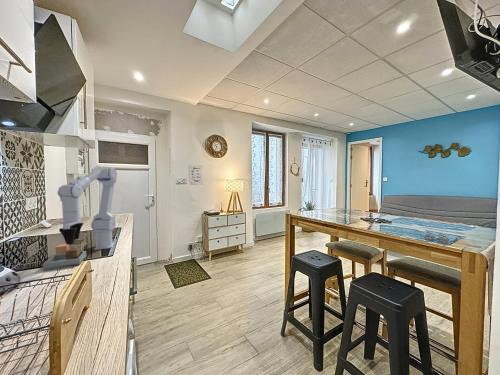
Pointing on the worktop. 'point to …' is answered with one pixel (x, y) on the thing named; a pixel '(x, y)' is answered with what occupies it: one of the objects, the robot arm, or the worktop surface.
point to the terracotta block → (62, 249)
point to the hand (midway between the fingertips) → (72, 241)
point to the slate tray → (63, 261)
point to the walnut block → (73, 253)
